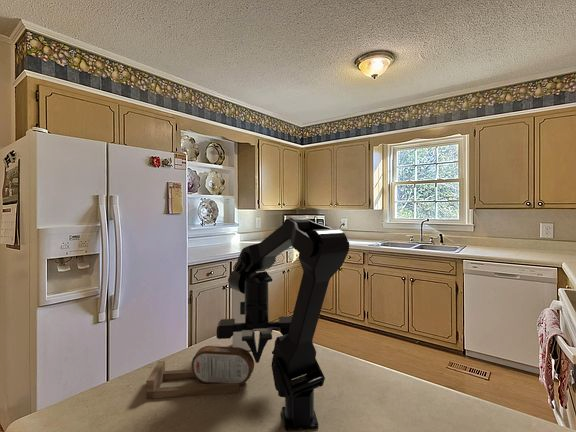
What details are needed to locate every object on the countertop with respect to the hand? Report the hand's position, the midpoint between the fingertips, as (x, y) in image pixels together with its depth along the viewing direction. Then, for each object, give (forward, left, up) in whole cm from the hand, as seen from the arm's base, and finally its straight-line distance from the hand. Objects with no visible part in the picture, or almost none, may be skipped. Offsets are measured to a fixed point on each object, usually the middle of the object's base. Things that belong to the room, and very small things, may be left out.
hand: (257, 362), depth 76 cm
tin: (0, +8, -5) cm, 10 cm away
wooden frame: (0, +14, -5) cm, 15 cm away
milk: (+20, +4, -5) cm, 21 cm away
